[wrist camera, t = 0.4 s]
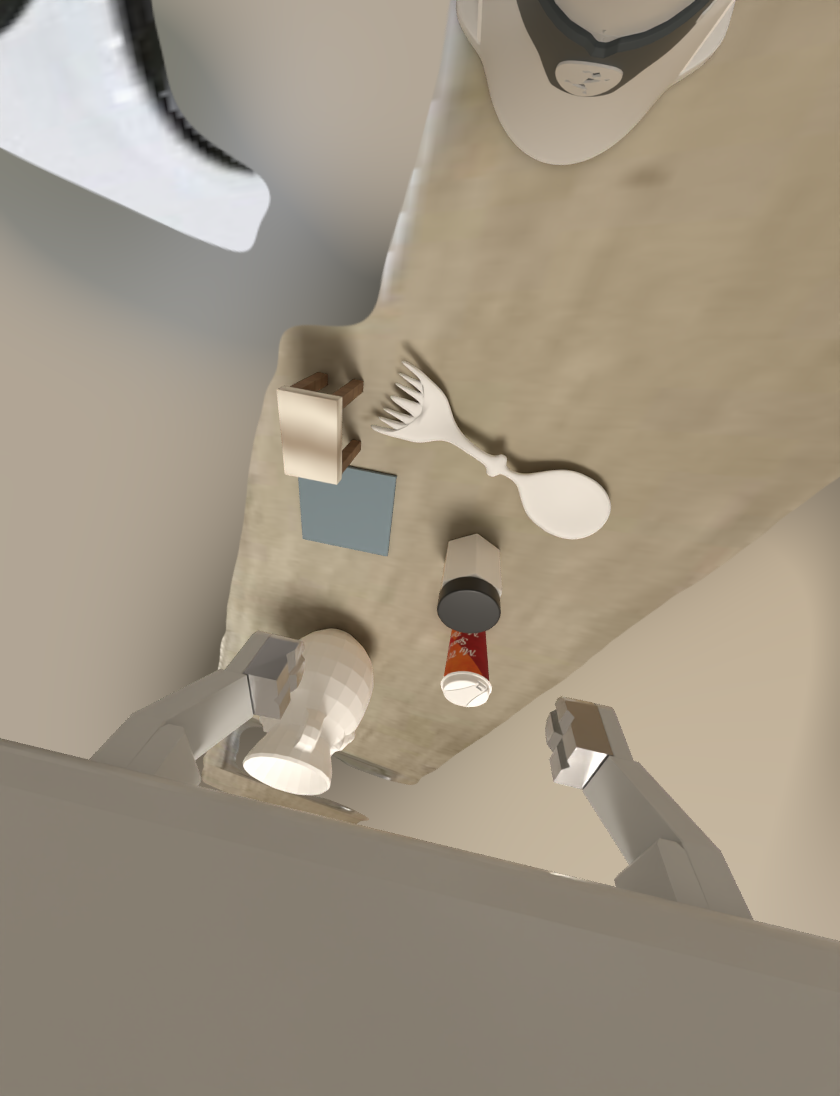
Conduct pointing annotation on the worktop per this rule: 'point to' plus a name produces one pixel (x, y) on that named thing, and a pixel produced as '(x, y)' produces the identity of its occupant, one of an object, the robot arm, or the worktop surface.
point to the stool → (316, 428)
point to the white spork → (503, 464)
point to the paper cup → (467, 670)
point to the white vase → (315, 716)
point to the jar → (470, 585)
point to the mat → (349, 510)
